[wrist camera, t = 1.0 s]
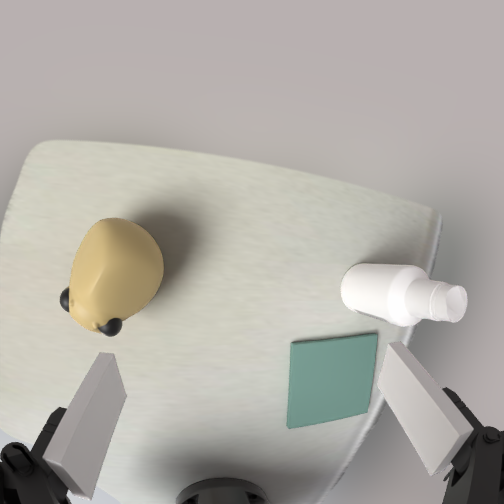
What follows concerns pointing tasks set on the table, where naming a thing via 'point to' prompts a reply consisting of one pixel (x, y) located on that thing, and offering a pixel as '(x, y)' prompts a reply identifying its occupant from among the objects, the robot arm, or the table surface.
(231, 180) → the table surface
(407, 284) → the spray bottle
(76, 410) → the robot arm
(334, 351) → the mat
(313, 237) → the table surface
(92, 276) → the toy pig
